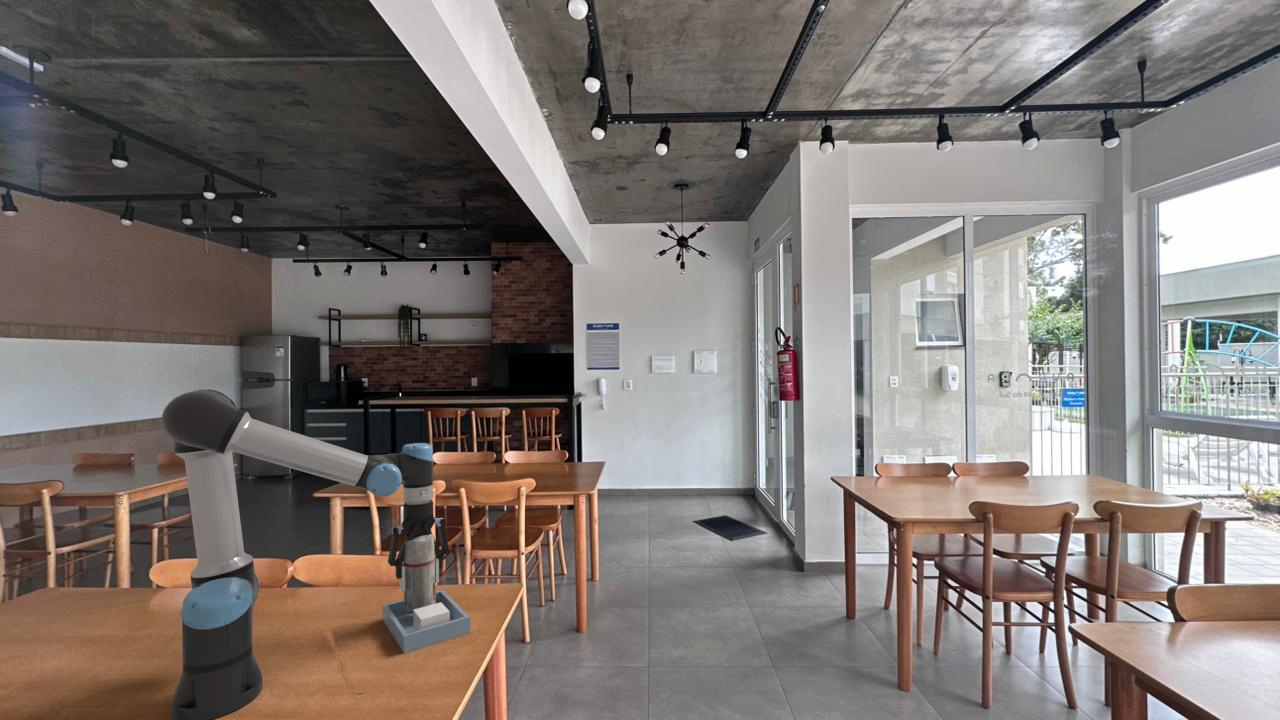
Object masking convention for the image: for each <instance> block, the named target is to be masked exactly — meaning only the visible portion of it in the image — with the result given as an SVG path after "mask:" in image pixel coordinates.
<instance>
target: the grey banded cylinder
mask: <svg viewBox="0 0 1280 720" xmlns="http://www.w3.org/2000/svg"><path fill="white" fill-rule="evenodd" d="M434 539H435V535H434V534H433V533H432V534H430V535H427V534H426V535H422V536H418V537H415V538H413V540H410V541H407V543H406V541H405V544H406V546H405V559H404V561H403V565H404V566H405V591H404V593H403V598H404V599H403V600H404V606H405V612H407V613H410V614H413V610H414V609H418V608H421V607H425V606H429V605H432V604H436V603H435V592H436V583H435V556H436V554H435V552H434Z"/></svg>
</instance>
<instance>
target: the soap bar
mask: <svg viewBox="0 0 1280 720" xmlns="http://www.w3.org/2000/svg"><path fill="white" fill-rule="evenodd" d="M449 621H450V611H449V610H448V609H447V608H446V607H445V606H444V605H443V604H442V603H441V602H440V603H436V604H432V605H429V606H425V607H421V608H418V609H414V610H413V629H414V632H415V631H418V630H421V629H425V628H428V627H432V626H435V625H439V624H442V623H445V622H449Z"/></svg>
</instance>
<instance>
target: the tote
mask: <svg viewBox="0 0 1280 720" xmlns="http://www.w3.org/2000/svg"><path fill="white" fill-rule="evenodd" d="M440 602H441V603H442V604H443V605H444V606H445V607H446V608H447V609H448V610H449V611H450V621H449V622H445V623H442V624H439V625H435V626H432V627H428V628H425V629H421V630H418V631H415V632H414V629H413V614H410V613H407V612H405V606H404V599H402V600H398V601H394V602H390V603H386V604H382V621H383V623H384V624H385V626H386V628H387V629H388V630H389V632H390V634H391V636H392V637H393V638H394V640H395V642H396V643H397V645H398V646H399V647H400V649H401V651H402V653H403V654H407V653H411V652H414V651H417V650H420V649H423V648H427V647H430V646H433V645H437V644H439V643H444V642H446V641H448V640H452V639H455V638H460V637H463V636H464V635H467V634H471V616H470V615H469V614H468V613H467V612H466V611H465V610H463V608H462V607H461V606H460V605H459V604H457V602H456V601H455V600H454V599H453V598H452V597H451V596H450V595H449V594H448V593H447V592H446V591H445V590H444V589H440V590H435V603H440Z"/></svg>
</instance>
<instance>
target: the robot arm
mask: <svg viewBox="0 0 1280 720" xmlns="http://www.w3.org/2000/svg"><path fill="white" fill-rule="evenodd" d="M235 403H236V402H235V401H234V400H233V399H232V398H231V397H230V396H229V395H227V394H226V393H224V392H222V391H219V390H216V389H211V388H208V389H202V388H201V389H198V390H197V389H196V390H192V391H189V392H185V393H182V394H179V395H178V396H175V397H174V398H173V399H172V400H171V401H169V403H167V405H166V406H165V407H164V409H163V411H162V415H161V425H162V429H163V430H164V432H165V434H166V435H167V437H169V438H170V439H171V440H172V441H173V442H172V443H173V451H174V455H176V456H178V457H179V458H181V459H182V460H184V466H185V473H186V480H187V488H188V496H189V497H188V499H189V505H190V512H191V513H190V514H191V521H192V529H193V537H194V538H193V539H194V545H195V552H196V561H197V564H196V566H195V567H194V568H193V569H192V570H191V572H190V573H189V574H190V584H191V590H190V591H189V592H188V593H187V594H186V595H185V597H184V599H183V601H182V607H181V610H180V616H181V620H182V627H181V628H182V638H181V639H182V673H181V676H180V679H179V681H178V684H177V687H176V689H175V692H174V696H173V698H172V701H171V716H172V718H173V719H174V720H213V719H218V718H219V717H222V716H225V715H228V714H230V713H233V712H235V711H238V710H239V709H240V708H243V707H245V706H246V705H248V704H249V703H251V702H252V701H253V700H255V699H256V698H257V697H258V696H259V695H260V694H261V693H262V691H263V688H264V682H263V681H264V680H263V679H264V678H263V673H262V672H261V671H262V670H261V669H260V667H259V665H258V662H257V660H256V658H255V656H254V653H253V652H254V651H253V614H254V609H255V605H256V603H257V598H258V596H259V592H260V581H259V578H258V576H257V574H256V572H255V570H256V569H255V565H254V557H253V556H252V555H251V554H248V553H246V552H245V548H244V547H245V546H244V540H243V539H244V538H243V532H242V531H243V529H242V524H241V515H240V507H239V500H238V490H237V489H238V488H237V483H236V482H237V481H236V476H235V475H236V474H235V473H236V472H235V469H234V468H235V465H234V459H233V457H234V456H233V453H236V454H241V455H244V456H248V457H251V458H254V459H257V460H262V461H264V462H268V463H272V464H275V465H280V466H282V467H285V468H289V469H293V470H297V471H300V472H304V473H307V474H311V475H314V476H317V477H320V478H324V479H327V480H331V481H335V482H339V483H341V484H346V485H348V486H352V487H354V488H358V489H361V490H366V491H369V493H371V494H372V495H374V496H377V497H382V498H384V497H390V496H392V495H393V494H395V493H396V492H398V490H399V489H400V487H401V485H402V487H403V488H402V491H403V492H402V495H403V496H402V497H403V499H402V500H403V502H404V503H403V505H402V508H403V509H402V510H403V521H402V523H401V524H399V525H391V527H390V530H391V540H390V545H389V551H388V559H387V564H388V565H389V566H390V567H395V577H396V579H397V580H399V590H400V591H401V592H404V591H405V566H404V564H403V561H404V559H405V546H406V544H405V541H406V543H407V541H410V540H413V538H415V537H418V536H422V535H426V534H427V535H430V534H433V533H432V528H433V526H434V525H435V526H437V531H438V536H439V542H440V546H441V548H440V547H439V545H438V542H437V541H436V538H434V554H435V584H439V583H440V570H442V569H443V558H444V556H445V555H448V554H449V553H450V547H449V544H448V543H449V542H448V538H447V533H446V526H445V525H446V522H447V521H446V519H445V518H443V517H442V516H440V517H437V518H435V516H434V515H435V514H434V500H433V498H434V476H433V475H434V474H433V473H434V472H433V471H434V468H433V466H434V459H433V458H434V457H433V447H432V446H431V444H430V443H426V442H417V443H416V442H414V443H407V444H404V445H403V446H402V450H401V452H398V453H397V452H396V453H388V454H385V453H384V454H372V455H366V454H364V453H360V452H358V451H354V450H350V449H347V448H345V447H342V446H339V445H334V444H331V443H329V442H325V441H324V440H320V439H317V438H313V437H310V436H308V435H307V436H306V435H304V434H301V433H298V432H294V431H291V430H288V429H285V428H283V427H280V426H275V425H272V424H269V423H267V422H263V421H261V420H259V419H254V418H252V417H251V416H250V414H249V412H248V411H246V410H242V409H239V408H238V407H237V405H236V404H235ZM402 530H404V531H405V535H404V540H403V542H402V544H401V547H400V549H399V551H398V547H399V539H400V534H401V533H402ZM397 553H398V554H397Z"/></svg>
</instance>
